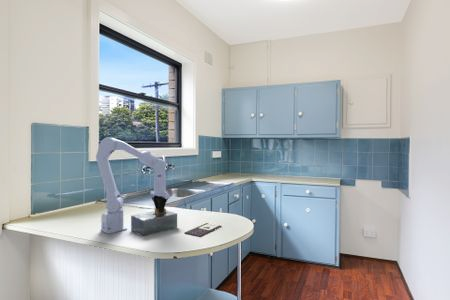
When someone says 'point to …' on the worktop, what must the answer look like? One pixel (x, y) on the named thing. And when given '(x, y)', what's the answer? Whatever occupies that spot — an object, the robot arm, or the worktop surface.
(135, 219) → the cash box
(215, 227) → the chocolate bar
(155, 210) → the tan rectangular slab
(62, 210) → the worktop surface
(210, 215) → the worktop surface
